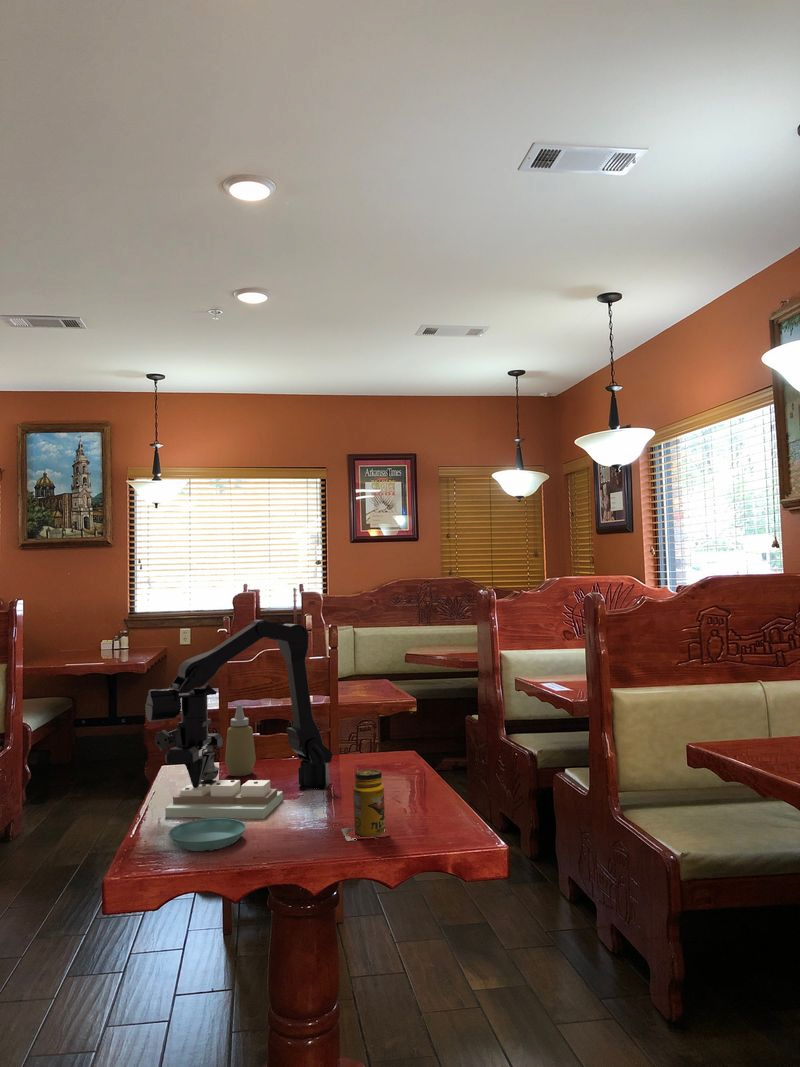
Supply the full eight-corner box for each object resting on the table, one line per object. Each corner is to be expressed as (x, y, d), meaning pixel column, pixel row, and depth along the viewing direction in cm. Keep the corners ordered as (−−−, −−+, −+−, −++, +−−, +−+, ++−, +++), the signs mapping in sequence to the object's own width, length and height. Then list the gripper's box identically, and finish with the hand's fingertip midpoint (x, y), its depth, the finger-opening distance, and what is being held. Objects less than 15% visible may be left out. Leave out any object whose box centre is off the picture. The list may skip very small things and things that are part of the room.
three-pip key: (210, 795, 181) (210, 783, 182) (202, 802, 177) (201, 789, 177) (189, 795, 182) (189, 783, 182) (180, 801, 177) (180, 789, 177)
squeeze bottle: (253, 777, 206) (251, 706, 207) (221, 778, 206) (220, 707, 207) (258, 770, 214) (257, 701, 215) (228, 770, 214) (227, 702, 215)
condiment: (390, 837, 155) (388, 774, 156) (347, 842, 153) (345, 778, 154) (382, 826, 162) (380, 766, 163) (341, 830, 160) (339, 769, 161)
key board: (282, 800, 184) (282, 785, 184) (264, 818, 170) (263, 802, 170) (191, 799, 187) (191, 784, 187) (165, 817, 173) (165, 801, 173)
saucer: (229, 857, 147) (229, 842, 147) (154, 854, 150) (154, 840, 150) (257, 831, 162) (257, 818, 162) (188, 829, 164) (188, 816, 165)
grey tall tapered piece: (213, 787, 197) (213, 737, 198) (191, 786, 198) (190, 737, 199) (223, 781, 203) (223, 733, 204) (202, 780, 204) (201, 733, 205)
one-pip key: (270, 791, 180) (270, 779, 180) (263, 797, 175) (263, 785, 175) (248, 791, 180) (248, 779, 180) (241, 797, 175) (241, 785, 175)
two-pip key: (240, 791, 181) (240, 779, 181) (232, 797, 176) (232, 784, 176) (219, 791, 181) (218, 779, 181) (210, 797, 176) (210, 784, 176)
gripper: (177, 709, 191) (178, 776, 190) (141, 724, 172) (142, 797, 171) (222, 709, 189) (224, 776, 188) (191, 723, 171) (192, 798, 170)
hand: (195, 786), depth 180 cm, fingers closed, pressing on three-pip key
